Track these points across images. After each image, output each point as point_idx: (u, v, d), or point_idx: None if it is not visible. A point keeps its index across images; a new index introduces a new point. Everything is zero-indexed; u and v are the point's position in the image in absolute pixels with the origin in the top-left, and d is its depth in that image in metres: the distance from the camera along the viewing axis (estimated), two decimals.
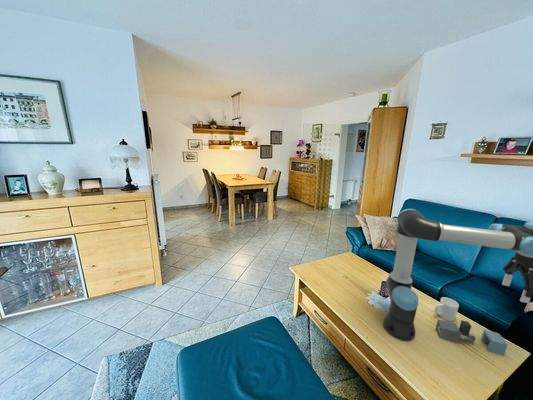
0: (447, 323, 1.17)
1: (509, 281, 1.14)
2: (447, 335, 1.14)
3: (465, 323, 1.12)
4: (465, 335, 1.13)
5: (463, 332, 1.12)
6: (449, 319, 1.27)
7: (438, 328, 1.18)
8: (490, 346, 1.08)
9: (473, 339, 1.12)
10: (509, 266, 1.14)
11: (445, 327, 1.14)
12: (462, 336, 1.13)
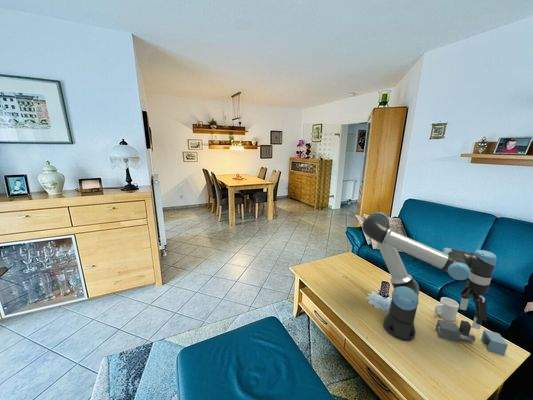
0: (447, 323, 1.17)
1: (465, 305, 1.16)
2: (447, 335, 1.14)
3: (465, 323, 1.12)
4: (465, 335, 1.13)
5: (463, 332, 1.12)
6: (449, 319, 1.27)
7: (438, 328, 1.18)
8: (490, 346, 1.08)
9: (473, 339, 1.12)
10: (465, 291, 1.16)
11: (445, 327, 1.14)
12: (462, 336, 1.13)
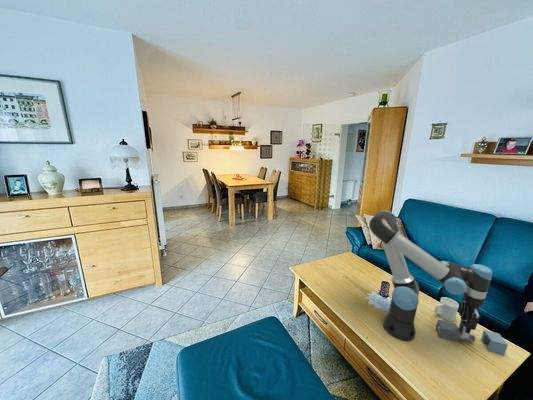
0: (447, 323, 1.17)
1: None
2: (447, 335, 1.14)
3: (465, 323, 1.12)
4: None
5: None
6: (449, 319, 1.27)
7: (438, 328, 1.18)
8: (490, 346, 1.08)
9: (473, 339, 1.12)
10: (463, 309, 1.15)
11: (445, 327, 1.14)
12: (462, 336, 1.13)
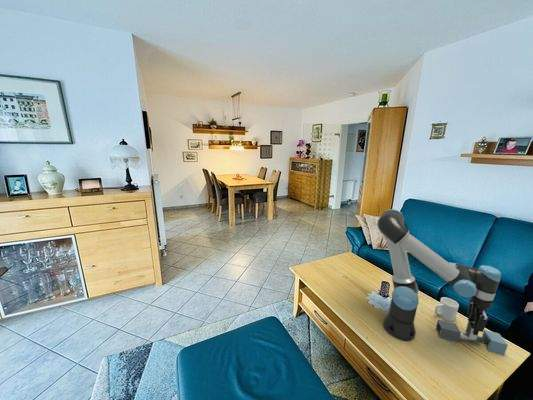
0: (447, 323, 1.17)
1: None
2: (447, 335, 1.14)
3: (472, 325, 1.11)
4: None
5: None
6: (449, 319, 1.27)
7: None
8: (490, 346, 1.08)
9: (481, 341, 1.11)
10: (470, 311, 1.14)
11: (445, 327, 1.14)
12: (469, 338, 1.12)
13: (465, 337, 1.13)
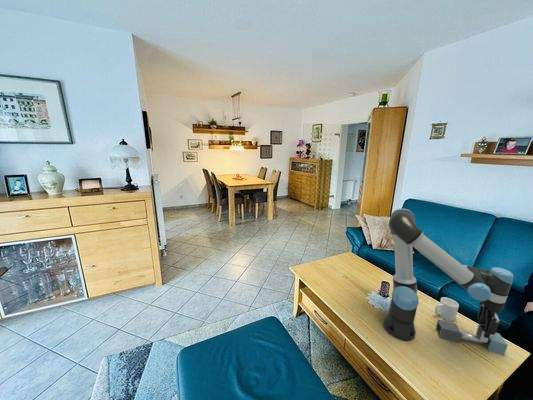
0: (447, 323, 1.17)
1: None
2: (447, 335, 1.14)
3: (483, 327, 1.10)
4: None
5: None
6: (449, 319, 1.27)
7: None
8: (490, 346, 1.08)
9: None
10: (481, 313, 1.13)
11: (445, 327, 1.14)
12: (480, 341, 1.11)
13: (476, 340, 1.11)
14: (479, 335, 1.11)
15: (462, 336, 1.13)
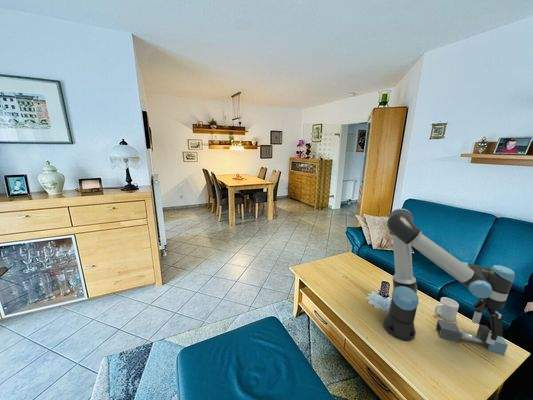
0: (447, 323, 1.17)
1: (478, 319, 1.16)
2: (447, 335, 1.14)
3: (483, 327, 1.10)
4: (483, 340, 1.10)
5: (481, 337, 1.10)
6: (449, 319, 1.27)
7: None
8: (490, 346, 1.08)
9: None
10: (479, 304, 1.15)
11: (445, 327, 1.14)
12: (480, 341, 1.11)
13: (476, 340, 1.11)
14: (479, 335, 1.11)
15: (462, 336, 1.13)
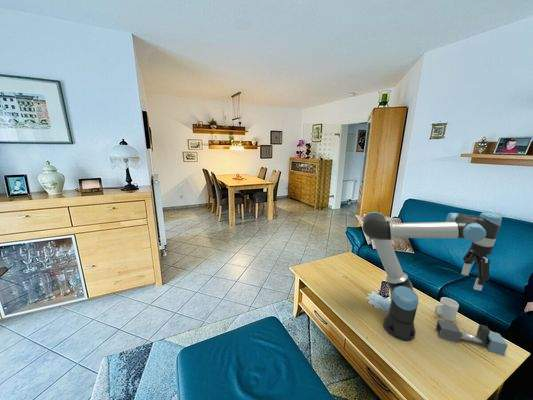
0: (447, 323, 1.17)
1: (468, 271, 1.17)
2: (447, 335, 1.14)
3: (483, 327, 1.10)
4: (483, 340, 1.10)
5: (481, 337, 1.10)
6: (449, 319, 1.27)
7: None
8: (490, 346, 1.08)
9: None
10: (468, 256, 1.16)
11: (445, 327, 1.14)
12: (480, 341, 1.11)
13: (476, 340, 1.11)
14: (479, 335, 1.11)
15: (462, 336, 1.13)
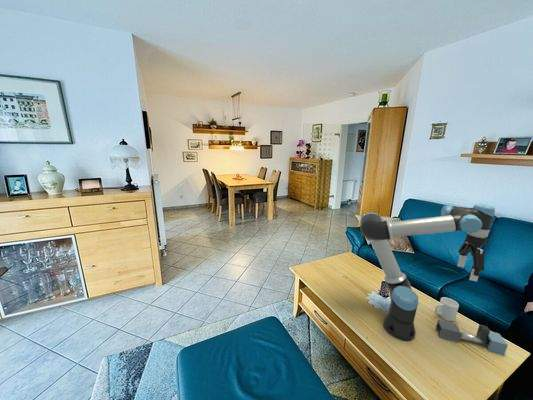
0: (447, 323, 1.17)
1: (463, 262, 1.18)
2: (447, 335, 1.14)
3: (483, 327, 1.10)
4: (483, 340, 1.10)
5: (481, 337, 1.10)
6: (449, 319, 1.27)
7: None
8: (490, 346, 1.08)
9: None
10: (463, 248, 1.18)
11: (445, 327, 1.14)
12: (480, 341, 1.11)
13: (476, 340, 1.11)
14: (479, 335, 1.11)
15: (462, 336, 1.13)
